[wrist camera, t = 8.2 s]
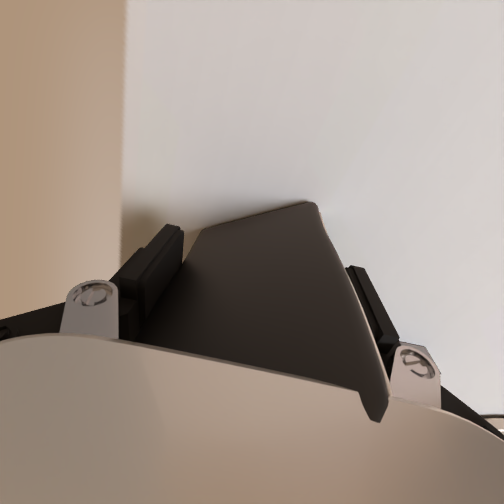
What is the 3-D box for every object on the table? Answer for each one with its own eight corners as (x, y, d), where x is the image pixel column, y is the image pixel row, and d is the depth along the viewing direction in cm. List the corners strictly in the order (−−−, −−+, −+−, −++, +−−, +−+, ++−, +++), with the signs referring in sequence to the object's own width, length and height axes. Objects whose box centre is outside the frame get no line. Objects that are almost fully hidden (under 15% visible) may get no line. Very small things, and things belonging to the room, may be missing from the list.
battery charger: (220, 280, 16) (134, 549, 7) (196, 228, 15) (29, 492, 5) (331, 257, 15) (436, 567, 5) (319, 196, 13) (448, 492, 3)
